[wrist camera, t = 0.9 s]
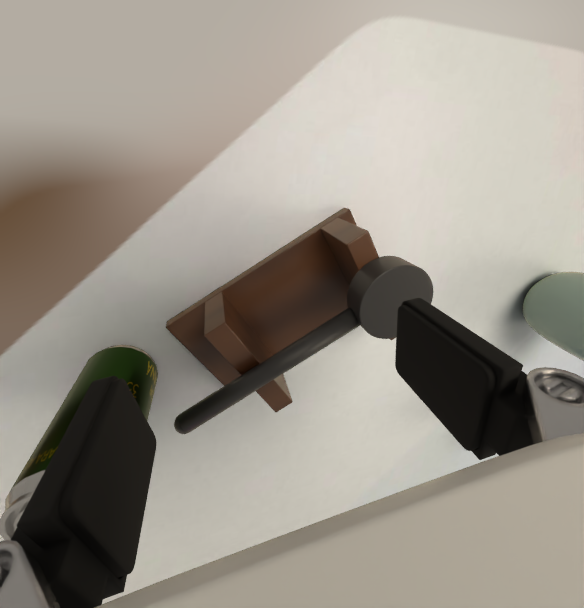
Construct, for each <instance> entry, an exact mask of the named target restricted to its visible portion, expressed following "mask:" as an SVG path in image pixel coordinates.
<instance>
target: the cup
mask: <svg viewBox="0 0 584 608" xmlns="http://www.w3.org/2000/svg"><path fill="white" fill-rule="evenodd" d="M523 315H524V318H525V320H526V322H527V323H528V324H529V326H530V327H531V328H532V329H533V330H534V331H536V332H537V333H538V334H539V335H541V336H542V337H544V338H545V339H547V340H548V341H550V342H551V343H553V344H555V345H556V346H558V347H560V348H561V349H563V350H565V351H567V352H568V353H570V354H572V355H574V356H576V357H577V358H579V359H581V360H583V361H584V273H580V272H561V273H556V274H553V275H550V276H547V277H545V278H543V279H542V280H540V281H539V282H537V283H536V284H535V285H534V286H533V287H532V288H531V289H530V290H529V291H528V293H527V294H526V296H525V299H524V302H523Z"/></svg>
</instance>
